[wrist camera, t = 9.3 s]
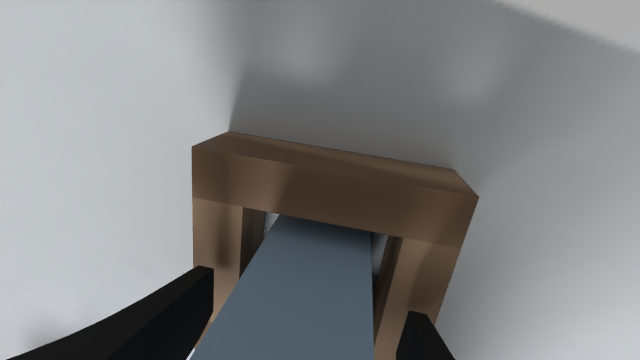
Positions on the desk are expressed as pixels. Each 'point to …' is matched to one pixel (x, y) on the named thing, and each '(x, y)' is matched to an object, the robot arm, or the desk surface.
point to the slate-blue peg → (299, 298)
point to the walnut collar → (331, 217)
